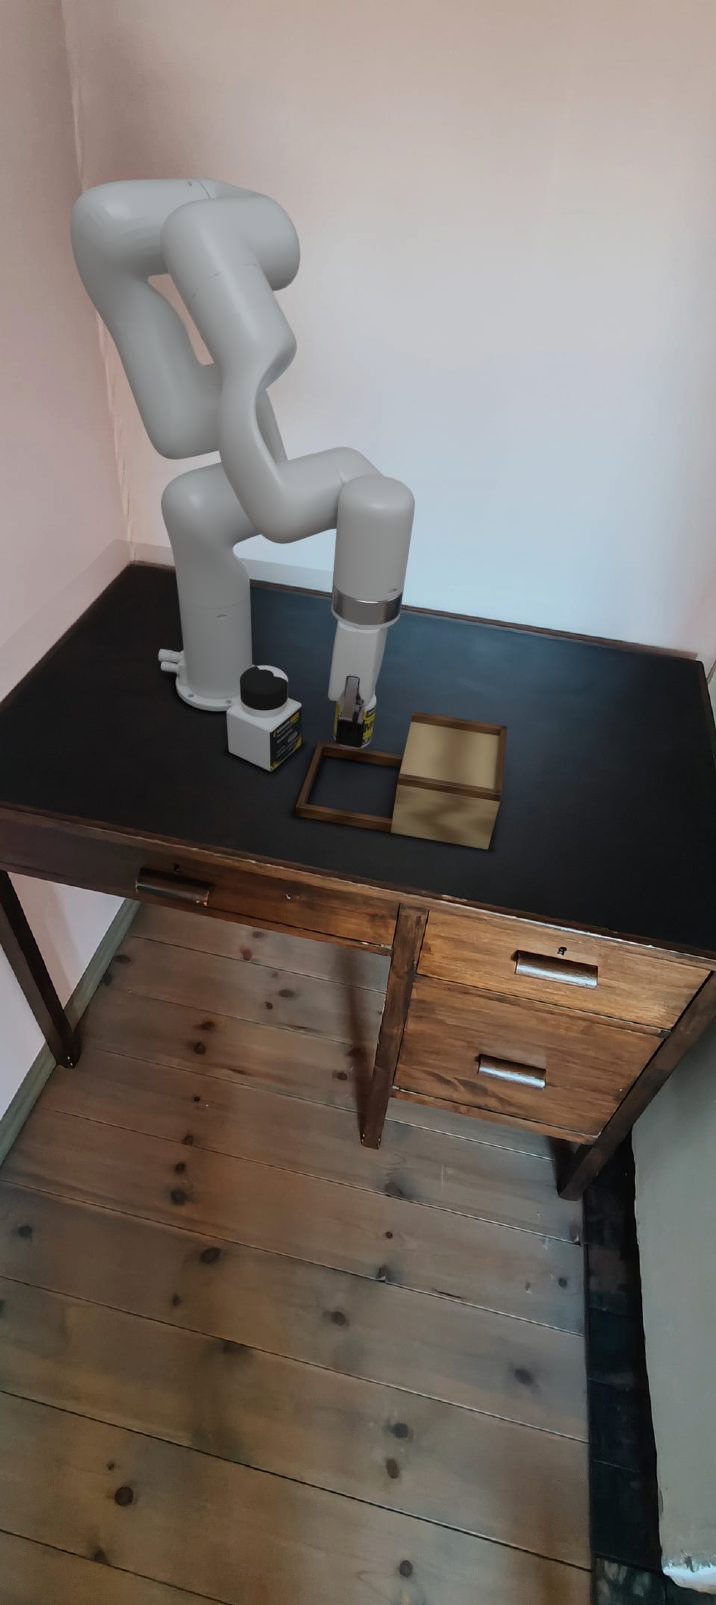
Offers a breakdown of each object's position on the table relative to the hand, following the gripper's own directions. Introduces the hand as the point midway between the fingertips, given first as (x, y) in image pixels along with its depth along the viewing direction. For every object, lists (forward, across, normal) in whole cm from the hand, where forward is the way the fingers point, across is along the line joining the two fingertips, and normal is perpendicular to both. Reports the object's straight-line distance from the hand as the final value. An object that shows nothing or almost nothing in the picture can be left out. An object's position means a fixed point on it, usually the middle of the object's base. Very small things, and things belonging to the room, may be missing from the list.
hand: (353, 728), depth 101 cm
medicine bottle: (+10, -4, -12) cm, 16 cm away
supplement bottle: (+2, 0, 0) cm, 2 cm away
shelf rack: (+9, +1, +7) cm, 12 cm away
